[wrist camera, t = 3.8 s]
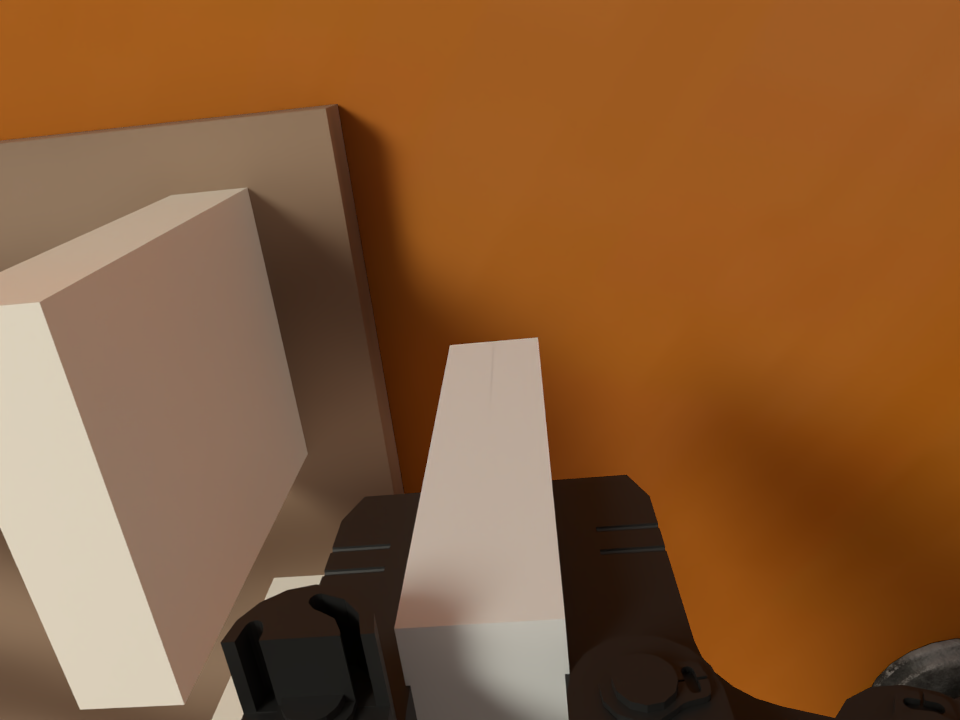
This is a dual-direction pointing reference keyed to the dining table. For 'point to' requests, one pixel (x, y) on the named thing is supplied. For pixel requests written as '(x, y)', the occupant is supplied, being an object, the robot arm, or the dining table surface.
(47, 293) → the tile
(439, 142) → the dining table surface
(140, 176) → the walnut board
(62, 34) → the dining table surface
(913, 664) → the grey stone finial
